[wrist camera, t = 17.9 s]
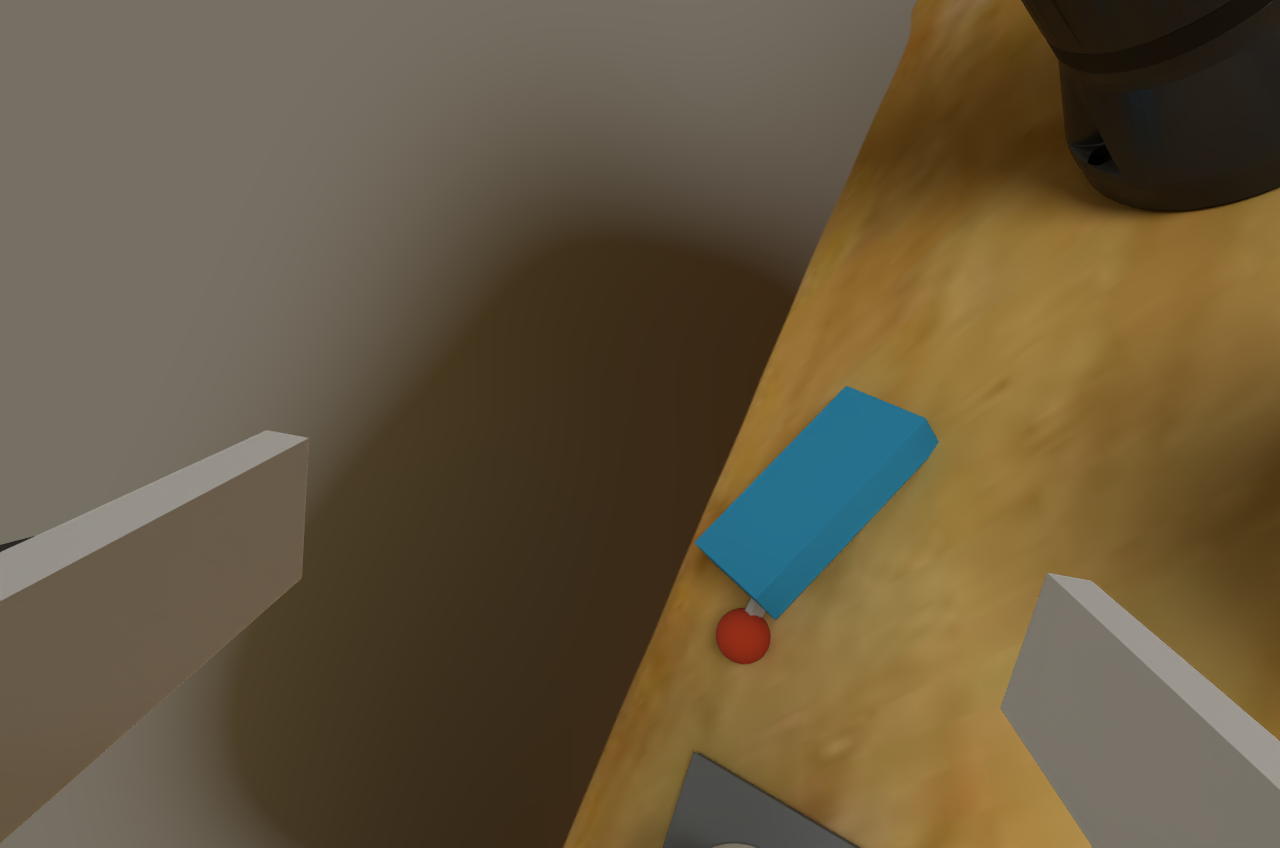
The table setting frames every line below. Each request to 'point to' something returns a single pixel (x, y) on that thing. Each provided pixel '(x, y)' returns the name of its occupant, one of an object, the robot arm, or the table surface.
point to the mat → (739, 815)
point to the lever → (810, 509)
